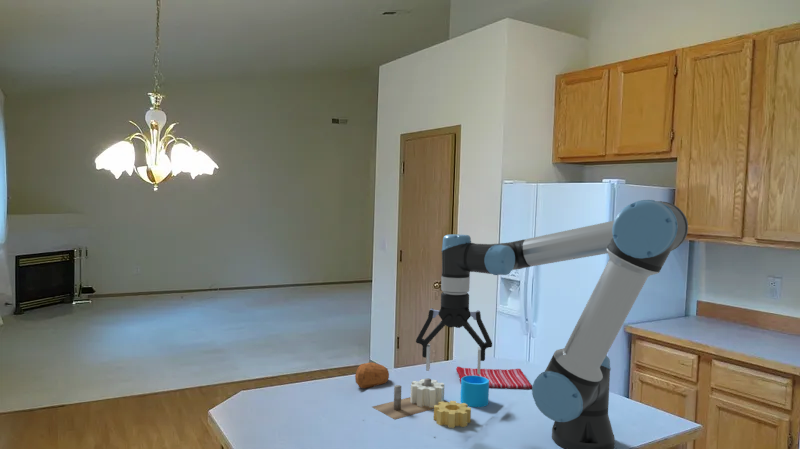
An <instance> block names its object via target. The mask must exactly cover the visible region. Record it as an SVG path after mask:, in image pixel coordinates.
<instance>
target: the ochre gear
mask: <svg viewBox="0 0 800 449" xmlns="http://www.w3.org/2000/svg"><path fill="white" fill-rule="evenodd" d="M471 417H472V407H470V406H468V404H465V403H461V402H457V401H456V400H449V401H448V402H446V403H445V402H443V401H442V402H438V405H434V409H433V421H436V425H438V426H447V427H448V428H449V429H450V428H452V429H454V428H455V427H462V428H464V427H467V426H468V424H471V419H472V418H471Z"/></svg>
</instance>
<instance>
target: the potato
mask: <svg viewBox="0 0 800 449" xmlns="http://www.w3.org/2000/svg"><path fill="white" fill-rule="evenodd" d="M354 377H355V383H356V385H357V386H358V387H359V388H361V389H368V388H374V387H376V386H380V385H384V384H386V383H387V382H388V381H389V378H390V372H389V369H388V368H387V367H386V366H385V365H382V364H380V363H375V362H366V363H361V364H360V365H359V366H358V367H357V369H356V371H355V375H354Z"/></svg>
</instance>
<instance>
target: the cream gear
mask: <svg viewBox="0 0 800 449" xmlns="http://www.w3.org/2000/svg"><path fill="white" fill-rule="evenodd" d="M424 379H425V378H423V379H419V380H418V381H417V380H413V381H412V382H411V384H410V397H411V398H410V402H411V403H416V404H417V406H419V407H423V406H429V407H430V408H432V407H434V405H438V402H442V401H443V402H444V400H445V383H444V382H439V381H438V380H436V379H431V387H425V386H424Z"/></svg>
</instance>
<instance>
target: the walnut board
mask: <svg viewBox="0 0 800 449" xmlns="http://www.w3.org/2000/svg"><path fill="white" fill-rule="evenodd" d="M423 379H424V386H425V387H431V380H432V379H431V378H423ZM393 388H394V389H393V391H394V392H393V401H390V402H386V403H381V404H377V405H373V406H372V408H373V409H375V410H377V411H378V412H381V413H382V414H383V415H386V416H388V417H389V418H391V419H393V420H398V419H401V418H406V417H409V416H413V415H417V414H420V413H424V412H425V413H426V412H428V411H432V410H434V407H432V408H430V407H429V406H423V407H419V406H417V404H416V403H411V402H410V398H411V396H409V397H405V398H402V385H399V384H396V385H394V386H393ZM444 402H445V403H446V402H449V401H447V400H445V399H444Z"/></svg>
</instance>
